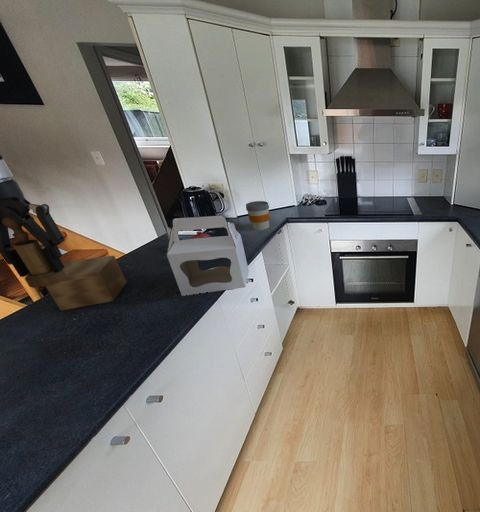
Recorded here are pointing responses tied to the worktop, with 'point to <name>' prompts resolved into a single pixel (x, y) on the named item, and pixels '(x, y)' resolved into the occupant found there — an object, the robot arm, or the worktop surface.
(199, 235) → the butter dish
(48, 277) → the mortar and pestle
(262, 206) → the reusable coffee cup
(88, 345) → the worktop surface
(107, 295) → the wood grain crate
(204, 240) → the gable box
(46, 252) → the robot arm
